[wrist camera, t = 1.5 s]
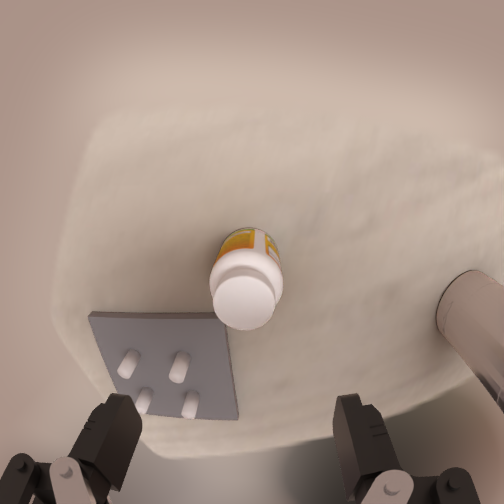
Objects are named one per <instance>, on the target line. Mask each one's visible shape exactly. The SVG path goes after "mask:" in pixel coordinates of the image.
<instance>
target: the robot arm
mask: <svg viewBox="0 0 504 504" xmlns="http://www.w3.org/2000/svg"><path fill="white" fill-rule="evenodd" d="M436 319H437V326H438V329H439V330H440V332H441V333H442V334H443V335H444V337H445V338H446V339H447V340H448V341H449V343H450V344H451V345H452V346H453V347H454V349H455V350H456V351H457V352H458V354H459V355H460V356H461V357H462V359H463V360H464V361H465V362H466V364H467V365H468V366H469V367H470V369H471V370H472V371H473V373H474V374H475V375H476V376H477V378H478V379H479V380H480V382H481V383H482V384H483V386H484V387H485V388H486V390H487V391H488V392H489V394H490V395H491V396H492V398H493V399H494V401H495V402H496V403H497V405H498V406H499V407H500V409H501V410H502V412H503V413H504V286H502V285H501V284H499V283H498V282H497V281H495V280H494V279H491V278H489V277H488V276H486V275H485V274H483V273H482V272H480V271H476V270H475V271H469V272H466V273H464V274H462V275H461V276H459V277H458V278H457V279H456V280H455V281H453V282H452V284H451V285H450V286H449V287H448V288H447V290H446V292H445V293H444V295H443V297H442V299H441V301H440V303H439V307H438V310H437V316H436ZM141 432H142V419H141V417H140V415H139V413H138V411H137V409H136V407H135V404H134V402H133V400H132V398H131V397H130V396H129V395H123V394H116V393H112V394H110V396H109V397H108V399H107V401H106V403H105V404H103V403H101V404H100V405H99V406H97V407H96V408H95V409H94V410H93V411H92V413H91V415H90V416H89V418H88V422H86V424H85V425H84V429H82V431H81V433H80V435H79V437H78V438H77V440H76V442H75V444H74V446H73V448H72V450H71V452H70V453H69V455H68V456H67V457H61V458H58V459H56V460H55V461H54V462H53V463H39V462H35V461H34V460H33V459H32V458H31V457H30V456H29V455H27V454H24V453H20V454H17V455H15V456H14V457H12V459H11V460H10V462H9V464H8V466H7V468H6V469H5V471H4V473H3V476H2V477H1V480H0V504H29V502H30V499H31V497H32V495H35V498H34V501H33V503H32V504H112V501H111V499H110V497H109V495H108V493H109V491H110V489H111V490H115V491H118V492H120V490H121V487H122V484H123V481H124V478H125V476H126V472H127V470H128V467H129V464H130V461H131V459H132V456H133V453H134V451H135V448H136V445H137V443H138V440H139V437H140V435H141ZM333 434H334V438H335V444H336V448H337V453H338V458H339V463H340V468H341V473H342V478H343V483H344V488H345V494H346V499H347V501H352V500H355V501H356V504H480V501H479V498H478V495H477V492H476V489H475V486H474V484H473V481H472V479H471V476H470V475H469V473H468V472H467V471H466V470H464V469H462V468H458V467H455V468H450V469H447V470H445V471H444V472H443V473H442V474H441V475H440V476H432V477H415V476H412V475H409V474H407V473H406V472H404V471H403V469H402V468H401V467H400V465H399V462H398V460H397V456H396V454H395V451H394V448H393V445H392V443H391V440H390V437H389V435H388V433H387V429H386V427H385V426H384V421H383V419H382V416H381V413H380V412H379V411H378V410H377V409H376V408H375V407H374V406H373V405H372V404H370V405H364V406H362V403H361V400H360V397H359V395H358V394H357V393H355V394H349V395H342V396H338V397H337V401H336V406H335V412H334V417H333Z"/></svg>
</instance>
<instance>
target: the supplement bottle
mask: <svg viewBox="0 0 504 504" xmlns="http://www.w3.org/2000/svg"><path fill="white" fill-rule="evenodd" d="M209 285H210V292H211V295H212V298H213V307H214V311H215V313H216V315H217V317H218V318H219V319H220V320H221V321H222V322H223V323H224V324H226V325H227V326H229V327H231V328H234V329H237V330H253V329H256V328H259V327H261V326H262V325H264V324H265V323H267V322H268V320H269V319H270V318H271V317H272V315H273V313H274V310H275V306H276V305H277V303H278V302H279V300H280V298H281V295H282V292H283V276H282V270H281V264H280V258H279V253H278V249H277V246H276V244H275V242H274V241H273V239H272V238H271V237H270V236H269V235H268V234H266V233H265V232H263V231H261V230H258V229H254V228H245V229H240V230H237V231H235V232H234V233H232V234H231V235H230V236H228V238H227V239H226V240H225V241H224V243H223V245H222V247H221V249H220V252H219V254H218V257H217V259H216V261H215V263H214V266H213V268H212V271H211V275H210V280H209Z"/></svg>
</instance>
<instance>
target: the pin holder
mask: <svg viewBox="0 0 504 504" xmlns="http://www.w3.org/2000/svg"><path fill="white" fill-rule="evenodd" d="M88 319H89V322H90V325H91V328H92V331H93V333H94V336H95V339H96V342H97V344H98V347H99V350H100V352H101V355H102V357H103V360H104V362H105V365H106V367H107V369H108V372H109V374H110V377H111V379H112V381H113V383H114V386H115V388H116V390H117V392H118V394H123V395H129V396H130V397H131V398H132V400H133V402H134V404H135V407H136V409H137V411H138V413H139V414H149V415H158V416H167V417H177V418H186V419H208V420H238V417H239V412H238V406H237V399H236V393H235V386H234V379H233V373H232V366H231V359H230V352H229V344H228V337H227V330H226V324H224V323H223V322H222V321H221V320H220V319H219V318H218V317H217V315H216V313H117V312H92V313H91V314H90V315H89V316H88Z"/></svg>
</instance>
